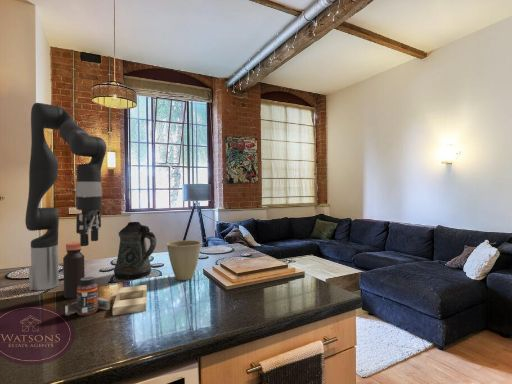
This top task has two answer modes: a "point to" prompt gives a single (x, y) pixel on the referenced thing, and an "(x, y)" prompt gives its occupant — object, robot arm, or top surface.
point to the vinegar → (72, 269)
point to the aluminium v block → (101, 304)
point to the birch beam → (130, 300)
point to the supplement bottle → (87, 296)
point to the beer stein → (134, 252)
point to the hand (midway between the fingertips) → (89, 243)
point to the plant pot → (184, 258)
